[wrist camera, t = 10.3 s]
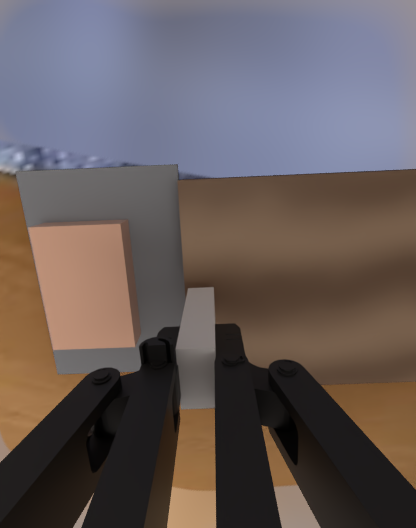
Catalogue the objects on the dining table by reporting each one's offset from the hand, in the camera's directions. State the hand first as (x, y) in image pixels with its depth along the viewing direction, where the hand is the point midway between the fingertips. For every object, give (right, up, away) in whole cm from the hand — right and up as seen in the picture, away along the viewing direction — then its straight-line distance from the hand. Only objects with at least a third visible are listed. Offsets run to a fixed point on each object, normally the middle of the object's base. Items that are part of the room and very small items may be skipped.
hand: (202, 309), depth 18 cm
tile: (-8, +1, +3) cm, 9 cm away
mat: (-7, +2, +5) cm, 9 cm away
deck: (+8, +2, +5) cm, 10 cm away
